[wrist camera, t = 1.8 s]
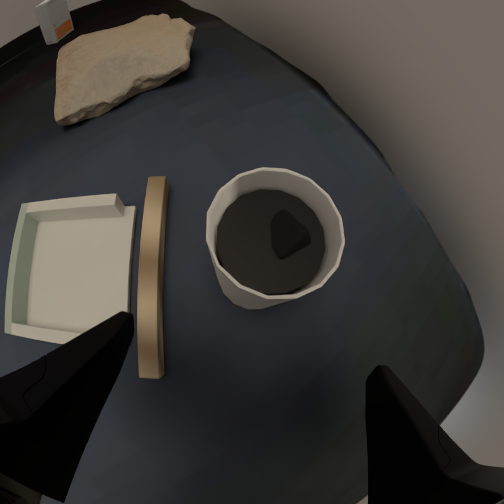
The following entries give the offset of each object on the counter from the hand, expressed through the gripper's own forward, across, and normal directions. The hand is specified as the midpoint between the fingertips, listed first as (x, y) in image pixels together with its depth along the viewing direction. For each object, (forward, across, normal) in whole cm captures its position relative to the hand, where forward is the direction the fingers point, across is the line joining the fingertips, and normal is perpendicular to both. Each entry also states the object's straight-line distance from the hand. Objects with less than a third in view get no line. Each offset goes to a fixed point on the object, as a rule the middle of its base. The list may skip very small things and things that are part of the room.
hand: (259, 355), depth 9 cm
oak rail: (+11, +8, +6) cm, 15 cm away
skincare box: (+41, +52, -23) cm, 70 cm away
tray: (+10, +16, +8) cm, 20 cm away
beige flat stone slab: (+31, +26, -13) cm, 42 cm away
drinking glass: (+13, 0, +5) cm, 14 cm away
